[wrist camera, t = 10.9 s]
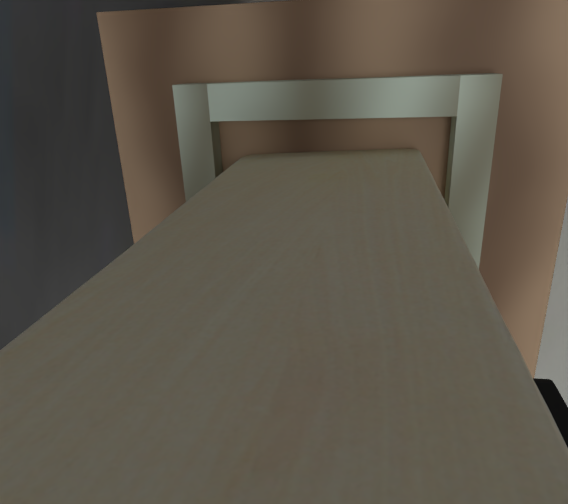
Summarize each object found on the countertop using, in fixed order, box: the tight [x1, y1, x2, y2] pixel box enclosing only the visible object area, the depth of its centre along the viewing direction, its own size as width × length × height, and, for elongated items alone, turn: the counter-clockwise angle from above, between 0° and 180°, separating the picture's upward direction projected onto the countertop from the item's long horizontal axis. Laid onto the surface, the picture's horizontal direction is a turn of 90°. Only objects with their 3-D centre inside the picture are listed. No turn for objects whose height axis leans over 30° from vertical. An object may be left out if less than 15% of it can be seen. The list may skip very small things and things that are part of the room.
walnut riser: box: [96, 0, 568, 378], centre depth 24 cm, size 20×20×6 cm
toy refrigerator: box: [0, 149, 568, 504], centre depth 13 cm, size 8×7×21 cm
